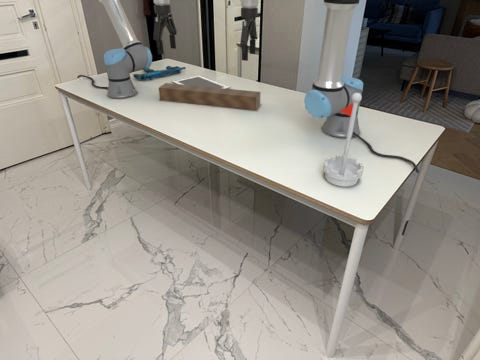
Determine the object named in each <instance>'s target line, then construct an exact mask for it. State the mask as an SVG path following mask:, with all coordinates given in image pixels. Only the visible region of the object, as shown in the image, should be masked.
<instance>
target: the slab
mask: <svg viewBox="0 0 480 360" xmlns="http://www.w3.org/2000/svg"><path fill="white" fill-rule="evenodd" d="M261 93H262V92H261V91H255V90H245V89H236V88H234V89H233V88H227V89H225V88H214V87H204V86H193V85H182V84H175V83H173V82H171V83H170V82H165V83H163V84H162V85H160V86H159V87H158V94H159V100H160V101H164V102H174V103H183V104H191V105H192V104H193V105H201V106H211V107H220V108H229V109H238V110H246V111H247V110H248V111H258V109H259V107H260V106H261Z"/></svg>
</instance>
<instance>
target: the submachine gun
mask: <svg viewBox="0 0 480 360" xmlns="http://www.w3.org/2000/svg"><path fill="white" fill-rule="evenodd" d="M186 69H187V68H186V66H183V67H181V66H178V65H176V66H171V65H167V66H165V69H160V70H159V69H157V70H155V69H151V67H149V68H147V69H144V70H143V72H144V73H133V74H132V77H133V78H134V79H136V80H138V81H145V80H150V81H152V79H153V78H159V77H164V76H167V75H173V74H179V73H181V72H182V71H183V70H186Z"/></svg>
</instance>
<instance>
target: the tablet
mask: <svg viewBox="0 0 480 360" xmlns="http://www.w3.org/2000/svg"><path fill="white" fill-rule="evenodd" d="M171 83H172V84H182V85H193V86H204V87H214V88H225V89H231V86H229V85H226V84H223V83H220V82H218V81H216V80H212V79H210V78H207V77H204V76H202V75H194V76H190V77H186V78H182V79H177V80H173V81H171Z"/></svg>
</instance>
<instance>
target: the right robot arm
mask: <svg viewBox="0 0 480 360" xmlns="http://www.w3.org/2000/svg"><path fill="white" fill-rule="evenodd" d="M239 1H240V6H241V8H240V17H241V18H244V20H242V22H241V23H242V24H241V33H240V42H239V46H241V61H244V62H247V61H249V54H250V55H256V41H257V40H258V33H257V32H258V31H257V23H256V18H257V17H258V16H259V8H258V6H259V0H239ZM323 4H324V5H325V7H326V14H325V21H324V28H323V36H322V43H321V50H320V58H319V65H318V73H317V77H316V78H315V79H313V80H312V84H311V89H310V90H308V91H307V92H306V94H305V96H304V99H303V101H304V107H305V109H306V111H307V112H308V114H309V115H310V116H311V117H312V118H315V119H317V120H321V119H326V120H325V121H324V123H323V126H322V130H323V132H324V133H325V134H326V135H329V136H332V137H335V138H339V139H341V138H342V139H346V137H347V132H348V127H349V121H350V116H349V115H346V114H344V113H342V112H340V111H342V110H343V109H345V108H346V107H348V106H349V105H351V104H352V103H353V101H352V95H353V94H354V93H360V94H361V96H362V95H363V92H364V82H363V81H362V79H359V78H355V77H352V76H344V75H342V74H343V68H344V63H345V58H346V51H347V46H348V40H349V35H350V29H351V23H352V17H353V12H354V9H355V8H356V7H357V6H359V4H360V0H323ZM249 38H250V39H249ZM362 97H363V96H362ZM360 105H361V101H360V102H358V107H357V112H356V117H355V122H354V127H353V132H352V137H351V138H354V137H357V138H358V139H359V140H360V141H362V142H363V143H364V144H365V145H367V147H368V149H369V150H370V151H371V152H372V154H374V155H376V156H379V157H382V158H391V159H399V160H402V161H405V162H406V163H410V164H411V165H412V166H413V168H414V170H415V172H416V173H417V174H419V173H420V171H419V168H418V166H417V164H416V163H415V162H414V161H413V160H411V159H409V158H406V157H403V156H400V155H393V154H383V153H380V152H377V151H376V150H374V149H373V147H372V145H371V144H370V143H369V142H368V141H367V140H366V139H364V138H363V137H361V136H360V135H359V132H360V125H359V118H358V117H359V116H358V114H359V111H360V110H359V109H360ZM409 222H410V219H409V220H405V222H404V226H403V229H402V232H401V236H405V233H406V230H407V227H408V225H409Z"/></svg>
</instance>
